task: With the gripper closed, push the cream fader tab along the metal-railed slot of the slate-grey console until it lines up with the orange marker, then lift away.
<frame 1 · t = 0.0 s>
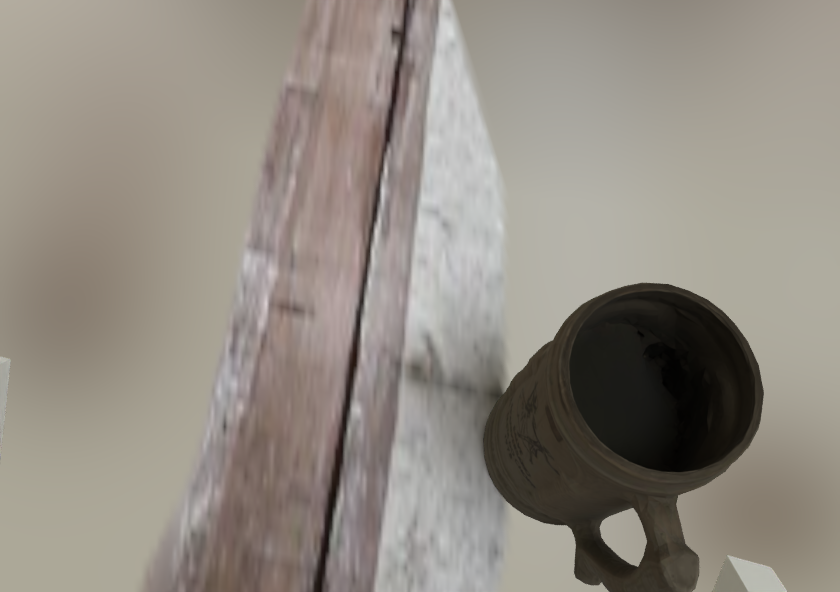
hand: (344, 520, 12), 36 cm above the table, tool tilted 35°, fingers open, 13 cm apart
beer stein: (565, 481, 48), on the table
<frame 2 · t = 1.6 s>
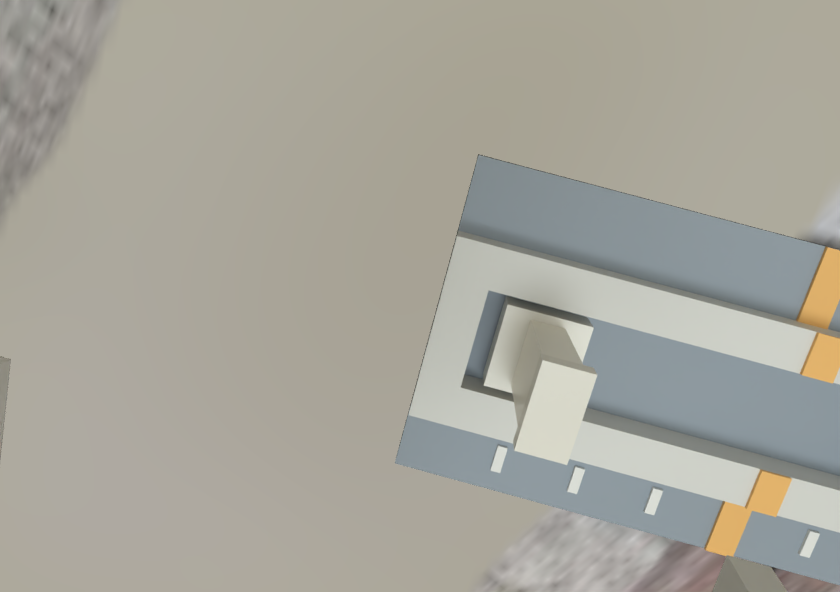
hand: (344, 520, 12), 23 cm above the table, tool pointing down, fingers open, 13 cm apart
console: (663, 369, 35), on the table
fader tab: (543, 374, 28), point 6 cm above the table, slide at 0.0 cm
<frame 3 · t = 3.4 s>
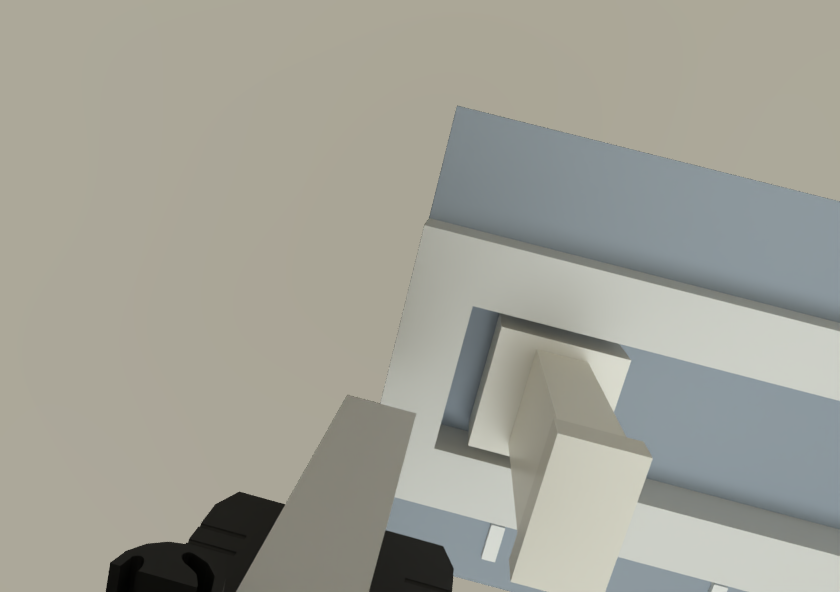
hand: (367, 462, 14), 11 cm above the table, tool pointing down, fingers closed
console: (724, 412, 24), on the table
fader tab: (556, 437, 18), point 6 cm above the table, slide at 0.0 cm
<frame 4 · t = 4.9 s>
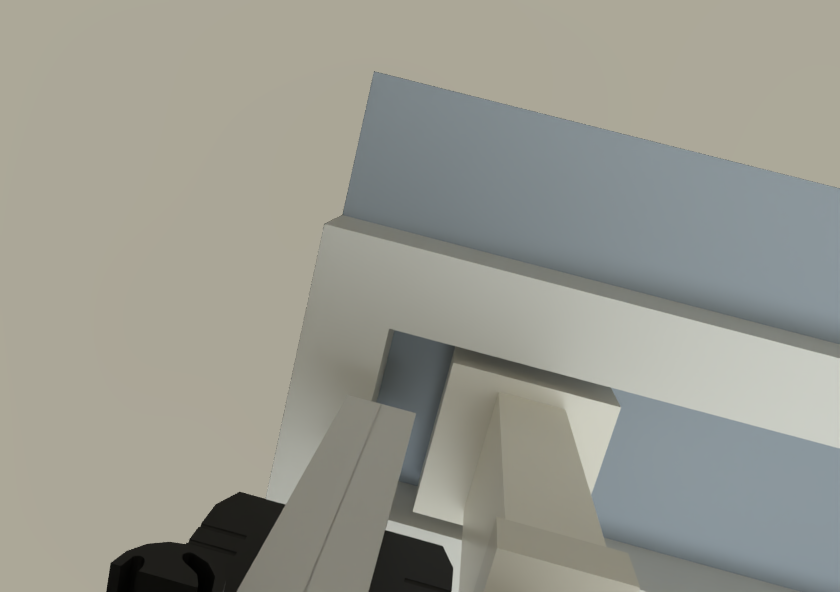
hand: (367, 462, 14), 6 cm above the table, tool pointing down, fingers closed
console: (718, 456, 20), on the table
fader tab: (518, 515, 14), point 6 cm above the table, slide at 0.7 cm, touching gripper
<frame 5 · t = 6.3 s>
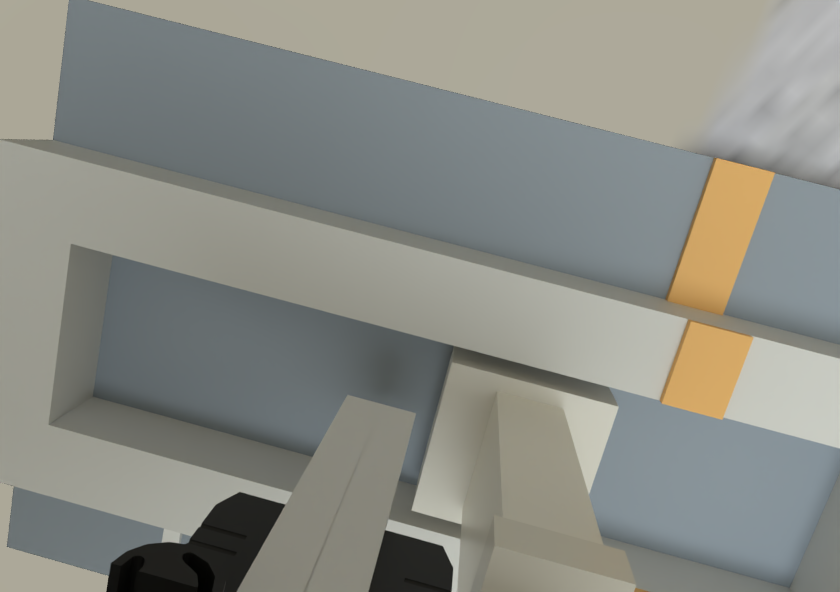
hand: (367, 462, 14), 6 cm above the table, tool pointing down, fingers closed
console: (458, 386, 20), on the table
fader tab: (516, 514, 14), point 6 cm above the table, slide at 8.5 cm, touching gripper
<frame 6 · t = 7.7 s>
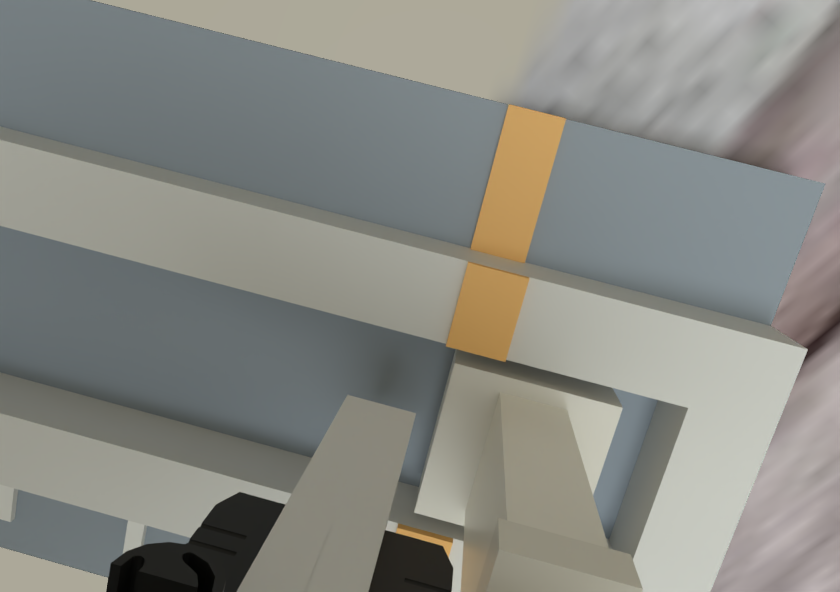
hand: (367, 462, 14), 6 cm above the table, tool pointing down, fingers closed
console: (295, 343, 20), on the table
fader tab: (519, 516, 14), point 6 cm above the table, slide at 13.6 cm, touching gripper
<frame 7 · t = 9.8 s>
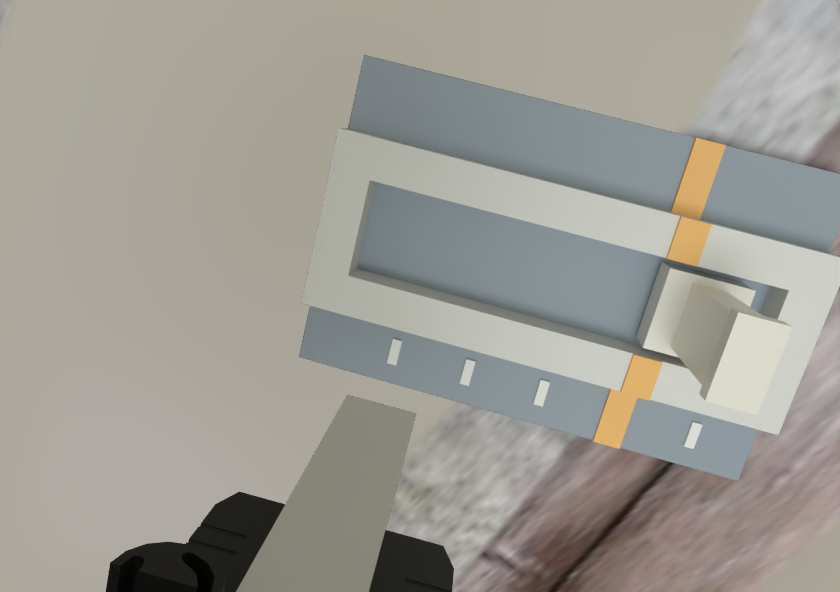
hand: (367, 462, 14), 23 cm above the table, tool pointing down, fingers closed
console: (554, 268, 36), on the table
fader tab: (713, 333, 29), point 6 cm above the table, slide at 13.6 cm
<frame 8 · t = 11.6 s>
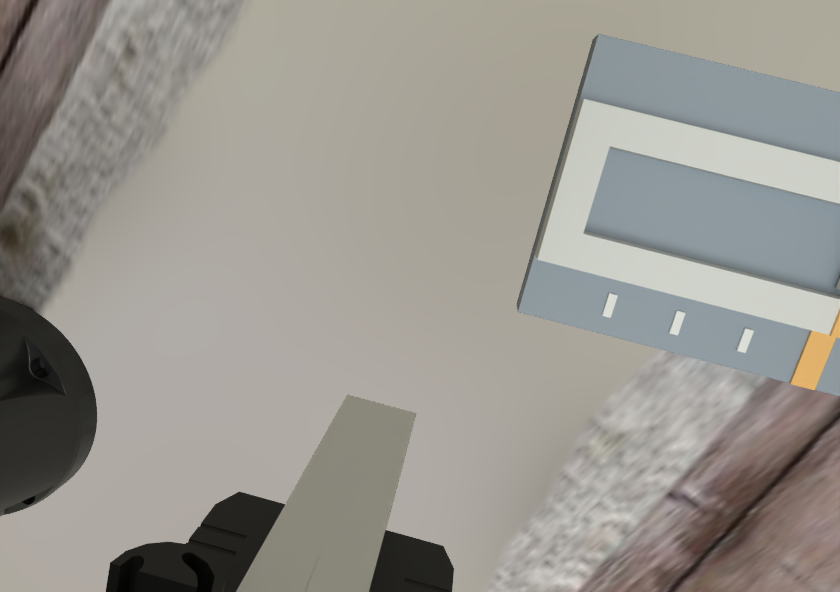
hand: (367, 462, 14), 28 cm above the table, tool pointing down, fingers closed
console: (751, 228, 40), on the table
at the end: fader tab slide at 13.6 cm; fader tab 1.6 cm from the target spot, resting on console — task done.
